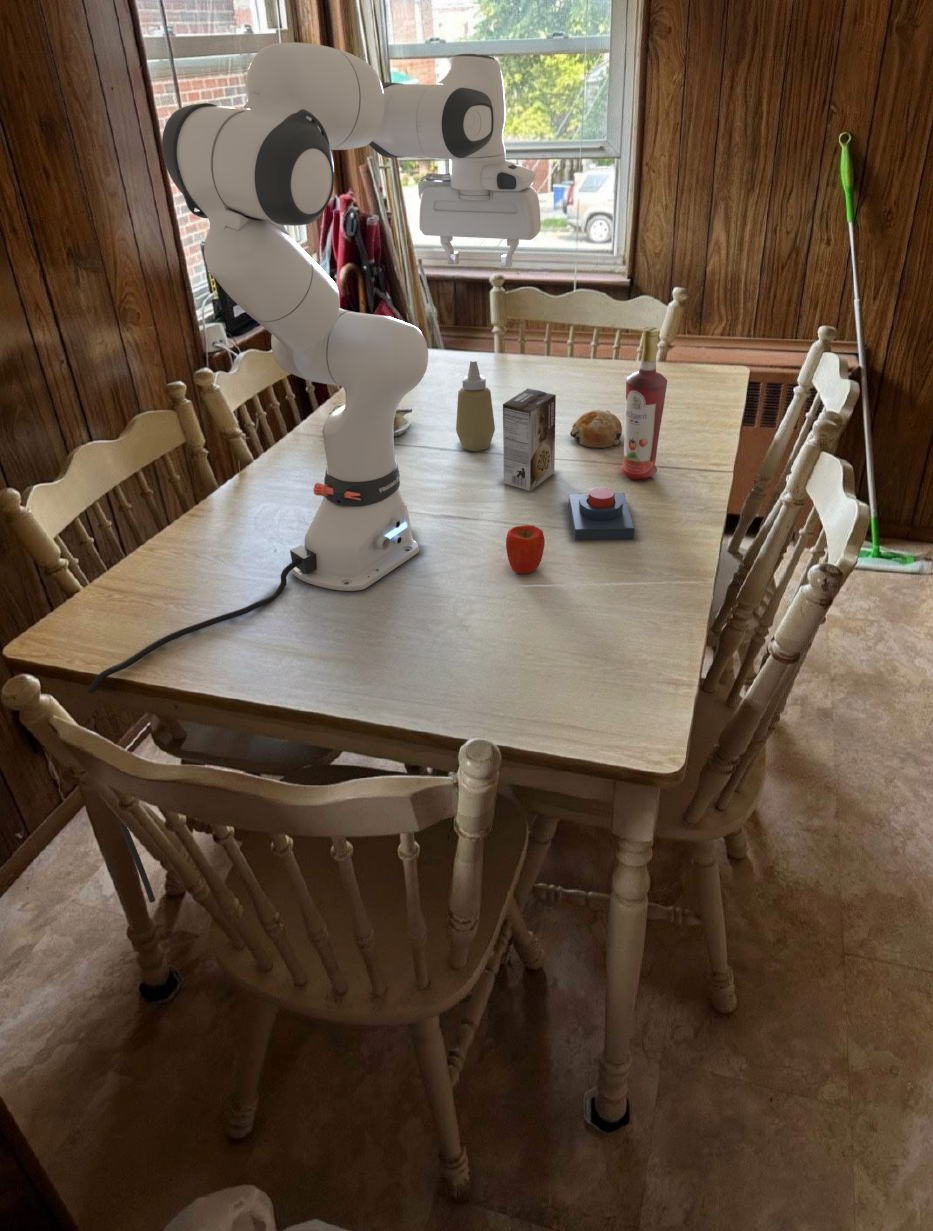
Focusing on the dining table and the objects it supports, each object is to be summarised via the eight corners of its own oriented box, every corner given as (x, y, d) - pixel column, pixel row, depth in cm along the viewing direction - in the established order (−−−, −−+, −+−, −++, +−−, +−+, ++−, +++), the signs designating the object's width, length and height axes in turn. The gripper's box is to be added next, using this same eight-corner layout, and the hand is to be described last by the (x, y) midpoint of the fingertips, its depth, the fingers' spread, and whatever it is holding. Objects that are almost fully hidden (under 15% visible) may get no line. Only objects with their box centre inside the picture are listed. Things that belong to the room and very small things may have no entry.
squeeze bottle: (496, 438, 186) (495, 353, 176) (493, 454, 179) (492, 367, 169) (458, 437, 187) (455, 353, 176) (454, 453, 180) (450, 367, 170)
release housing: (633, 539, 150) (635, 518, 147) (574, 540, 150) (575, 520, 148) (623, 503, 160) (624, 483, 158) (568, 504, 161) (569, 485, 158)
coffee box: (527, 466, 174) (527, 387, 165) (555, 473, 171) (557, 393, 162) (502, 483, 168) (501, 403, 159) (530, 491, 165) (531, 410, 156)
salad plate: (398, 405, 203) (397, 386, 200) (430, 432, 190) (429, 411, 187) (318, 422, 196) (315, 402, 193) (346, 451, 183) (343, 430, 180)
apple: (528, 584, 139) (528, 544, 135) (497, 572, 142) (497, 532, 138) (551, 568, 143) (552, 527, 139) (521, 556, 146) (521, 516, 142)
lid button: (615, 509, 151) (616, 498, 150) (589, 509, 151) (590, 499, 150) (612, 497, 155) (612, 486, 154) (587, 497, 155) (587, 487, 154)
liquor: (664, 474, 169) (680, 328, 153) (644, 487, 165) (657, 338, 149) (632, 464, 174) (644, 320, 157) (611, 476, 169) (621, 330, 153)
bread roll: (605, 467, 181) (624, 436, 176) (561, 442, 181) (579, 410, 176) (615, 447, 188) (633, 417, 183) (573, 423, 189) (591, 392, 184)
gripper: (409, 176, 141) (415, 266, 149) (532, 179, 134) (531, 273, 142) (425, 169, 145) (429, 257, 153) (544, 172, 139) (542, 263, 147)
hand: (479, 265), depth 148 cm, fingers open, 8 cm apart
